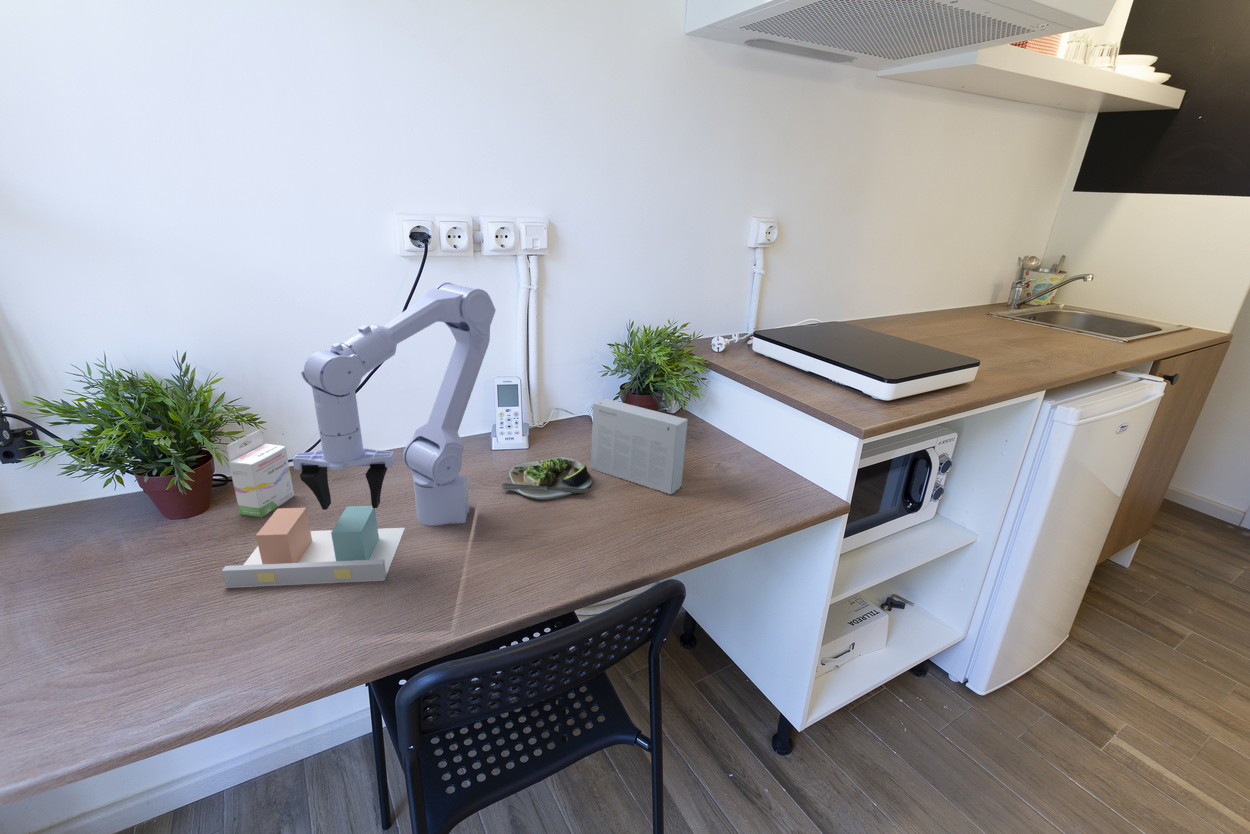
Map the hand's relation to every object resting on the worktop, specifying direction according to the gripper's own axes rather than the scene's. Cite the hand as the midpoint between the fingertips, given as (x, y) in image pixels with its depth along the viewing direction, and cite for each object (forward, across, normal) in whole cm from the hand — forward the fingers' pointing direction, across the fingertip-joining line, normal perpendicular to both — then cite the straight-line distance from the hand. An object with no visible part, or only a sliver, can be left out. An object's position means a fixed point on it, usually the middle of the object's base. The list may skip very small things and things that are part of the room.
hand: (351, 505), depth 95 cm
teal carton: (+9, 0, 0) cm, 9 cm away
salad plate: (+10, +33, +25) cm, 43 cm away
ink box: (+10, -21, +17) cm, 29 cm away
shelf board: (+10, -6, 0) cm, 11 cm away
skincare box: (+10, +51, +26) cm, 58 cm away
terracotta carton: (+9, -11, 0) cm, 14 cm away
